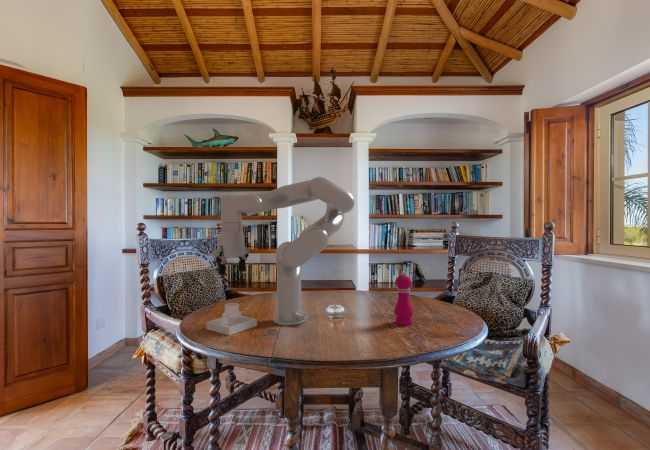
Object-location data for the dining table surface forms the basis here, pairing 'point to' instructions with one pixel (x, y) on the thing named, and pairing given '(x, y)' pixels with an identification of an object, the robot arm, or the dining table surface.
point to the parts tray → (222, 326)
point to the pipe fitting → (232, 313)
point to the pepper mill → (403, 300)
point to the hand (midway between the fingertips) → (232, 272)
